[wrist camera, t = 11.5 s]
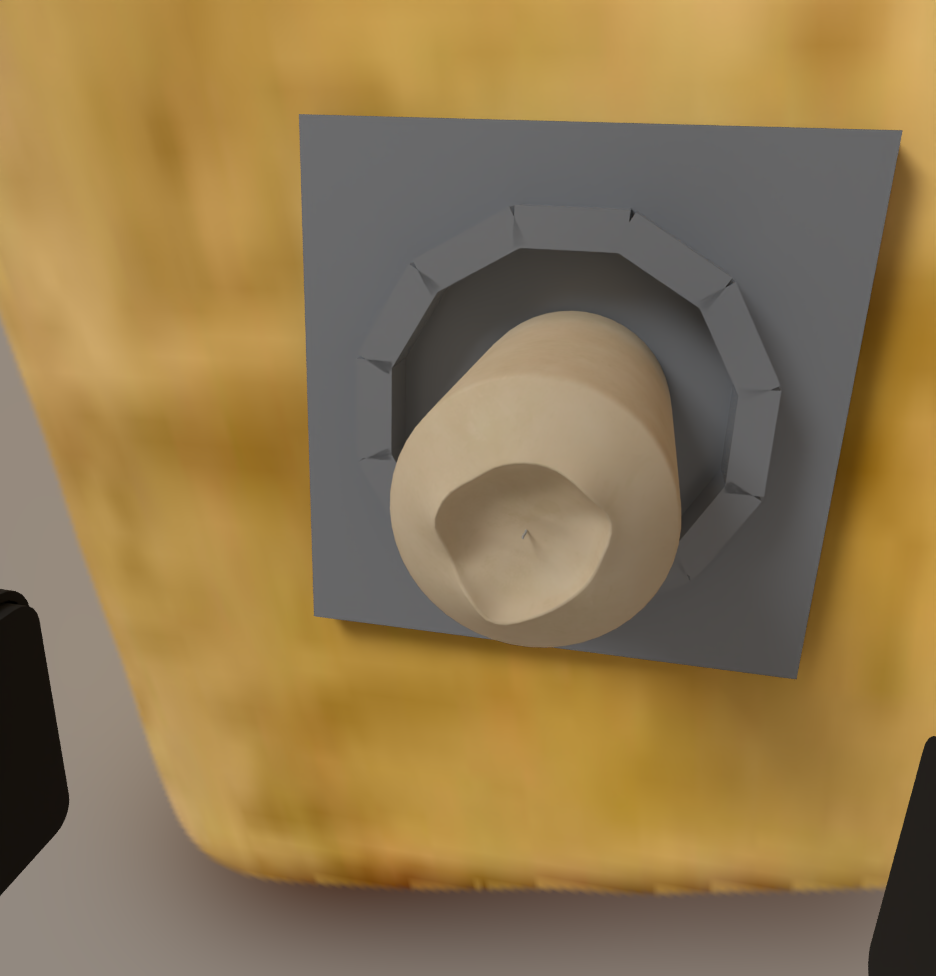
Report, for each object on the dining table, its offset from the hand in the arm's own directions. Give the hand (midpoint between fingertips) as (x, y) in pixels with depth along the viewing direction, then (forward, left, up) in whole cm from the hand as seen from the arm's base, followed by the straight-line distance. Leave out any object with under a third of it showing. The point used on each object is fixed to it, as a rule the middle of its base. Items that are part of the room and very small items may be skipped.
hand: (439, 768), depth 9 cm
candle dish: (0, 0, -17) cm, 17 cm away
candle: (0, 0, -16) cm, 16 cm away
